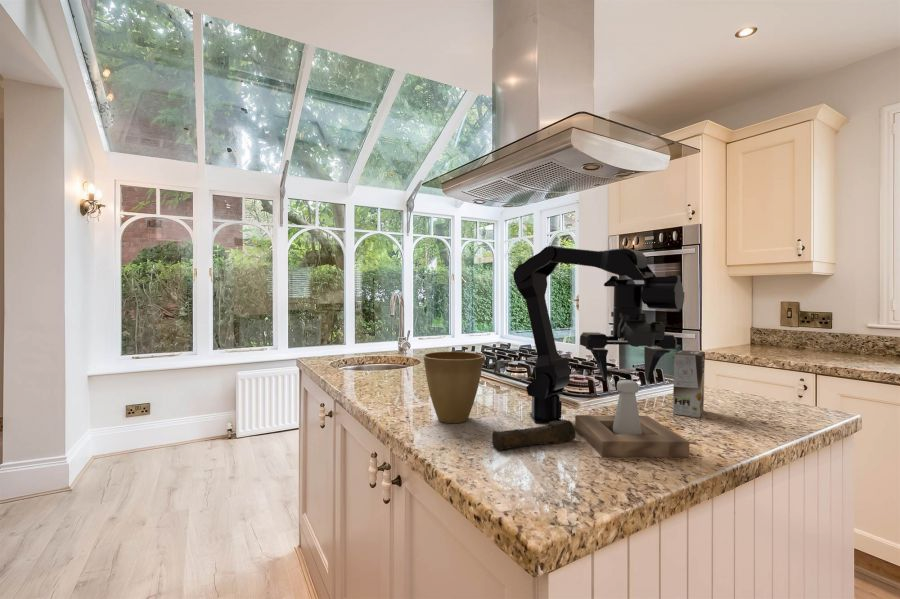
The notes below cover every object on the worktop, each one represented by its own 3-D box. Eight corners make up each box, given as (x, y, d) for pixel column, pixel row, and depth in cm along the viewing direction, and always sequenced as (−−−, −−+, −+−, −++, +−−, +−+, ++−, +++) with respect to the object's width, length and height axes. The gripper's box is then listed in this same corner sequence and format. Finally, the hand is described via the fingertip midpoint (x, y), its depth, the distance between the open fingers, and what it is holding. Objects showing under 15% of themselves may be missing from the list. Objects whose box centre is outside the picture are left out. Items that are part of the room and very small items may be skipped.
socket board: (602, 456, 82) (602, 441, 82) (575, 427, 99) (575, 415, 99) (689, 457, 82) (689, 441, 82) (647, 428, 99) (647, 415, 99)
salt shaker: (636, 437, 93) (637, 378, 93) (645, 446, 87) (646, 384, 87) (609, 435, 93) (610, 377, 93) (616, 445, 88) (617, 383, 88)
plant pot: (493, 424, 101) (494, 357, 100) (434, 431, 95) (435, 361, 95) (468, 408, 115) (468, 349, 114) (415, 413, 109) (415, 351, 109)
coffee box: (700, 418, 107) (701, 355, 107) (672, 414, 111) (673, 353, 110) (704, 410, 114) (705, 351, 114) (677, 406, 118) (678, 349, 118)
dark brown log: (498, 454, 83) (498, 431, 83) (490, 447, 87) (491, 424, 87) (582, 445, 88) (582, 423, 88) (571, 438, 92) (571, 417, 92)
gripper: (597, 309, 82) (596, 389, 82) (693, 310, 82) (691, 389, 83) (579, 306, 93) (578, 377, 94) (663, 307, 93) (662, 377, 94)
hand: (626, 380), depth 91 cm, fingers open, 9 cm apart
